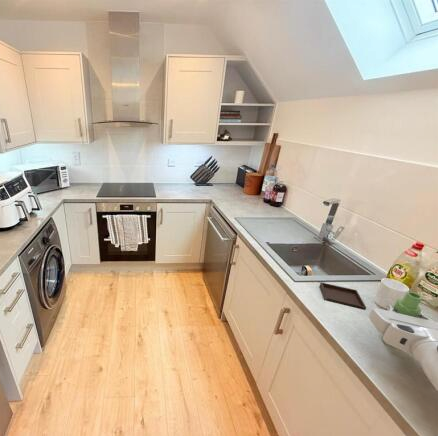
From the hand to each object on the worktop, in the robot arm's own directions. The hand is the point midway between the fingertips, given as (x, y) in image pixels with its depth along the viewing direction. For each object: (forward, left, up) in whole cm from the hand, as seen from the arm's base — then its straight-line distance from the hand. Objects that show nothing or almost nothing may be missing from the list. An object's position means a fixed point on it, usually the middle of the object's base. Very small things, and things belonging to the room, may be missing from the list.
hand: (403, 309), depth 75 cm
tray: (+8, -19, -14) cm, 25 cm away
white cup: (-8, -22, -14) cm, 28 cm away
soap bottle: (0, +1, -10) cm, 10 cm away
